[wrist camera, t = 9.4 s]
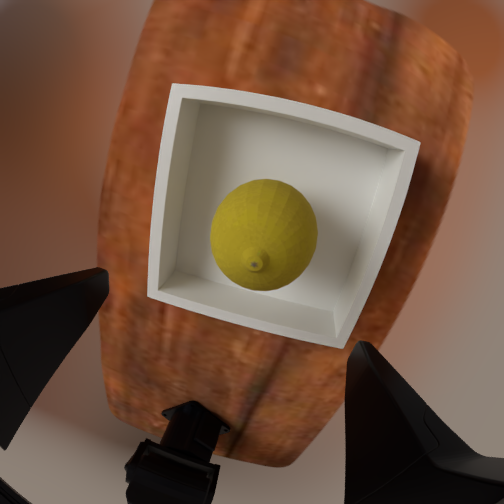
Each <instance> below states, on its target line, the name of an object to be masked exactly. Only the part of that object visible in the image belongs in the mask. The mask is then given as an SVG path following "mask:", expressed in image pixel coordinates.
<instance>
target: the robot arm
mask: <svg viewBox="0 0 504 504" xmlns="http://www.w3.org/2000/svg"><path fill="white" fill-rule="evenodd" d="M108 294H109V274H108V271H107V270H105V269H102V268H99V267H96V268H92V269H87V270H82V271H78V272H73V273H68V274H63V275H59V276H54V277H50V278H46V279H41V280H36V281H32V282H27V283H23V284H19V285H13V286H9V287H4V288H0V447H1V448H2V449H3V450H6V449H7V447H8V446H9V444H10V442H11V440H12V439H13V437H14V435H15V433H16V431H17V430H18V428H19V427H20V425H21V423H22V422H23V420H24V418H25V417H26V415H27V414H28V412H29V411H30V407H32V406H33V404H34V402H35V401H36V399H37V398H38V396H39V395H40V393H41V392H42V390H43V389H44V387H45V386H46V384H47V383H48V381H49V380H50V378H51V377H52V376H53V374H54V373H55V371H56V370H57V368H58V367H59V365H60V364H61V363H62V361H63V360H64V359H65V357H66V355H67V354H68V353H69V352H70V350H71V349H72V348H73V346H74V345H75V344H76V342H77V341H78V340H79V338H80V337H81V336H82V334H83V333H84V331H85V330H86V329H87V327H88V326H89V324H90V323H91V322H92V320H93V318H94V317H95V315H96V314H97V312H98V310H99V309H100V307H101V306H102V304H103V302H104V301H105V299H106V298H107V296H108ZM161 414H162V415H163V416H164V417H165V418H166V419H168V420H169V421H170V422H169V424H168V426H167V428H166V430H165V433H164V435H163V437H162V439H161V441H160V444H157V443H155V442H152V441H151V440H150V439H146V440H145V442H140V444H139V446H138V448H137V450H136V452H135V453H134V455H133V456H132V457H131V458H130V460H129V461H128V462H127V463H126V465H125V467H124V468H125V470H126V472H127V473H126V482H127V483H129V486H128V488H127V490H126V498H127V502H128V504H211V502H212V500H213V497H214V494H215V489H216V484H217V480H218V475H219V470H220V465H217V464H212V463H209V462H210V459H211V456H212V453H213V451H214V450H215V447H216V444H217V440H218V437H219V435H220V434H224V433H228V432H230V427H228V426H227V425H226V424H224V423H223V422H222V421H220V420H219V419H217V418H216V417H215V416H213V415H212V414H211V413H209V412H208V411H207V410H206V409H204V408H203V407H202V406H200V405H199V404H198V403H197V402H195V401H189V402H186V403H183V404H180V405H178V406H175V407H172V408H169V409H166V410H163V411H162V413H161ZM345 435H346V438H345V439H346V464H345V465H346V466H345V470H346V471H345V498H344V504H504V458H495V457H486V456H483V455H480V454H478V453H477V452H475V451H474V450H473V449H471V448H470V447H469V446H468V445H467V444H466V443H465V442H464V441H463V440H462V439H461V438H460V437H458V435H457V434H456V433H454V432H453V431H452V430H451V429H450V428H449V427H448V426H447V425H446V424H445V423H444V422H443V421H442V420H441V419H440V418H439V417H438V416H437V415H436V413H435V412H434V411H433V410H432V409H431V408H430V407H429V406H428V405H427V404H426V402H425V401H424V400H423V399H422V398H421V397H420V396H419V395H418V394H417V393H416V392H415V390H414V389H413V388H412V387H411V386H410V385H409V384H408V383H407V382H406V381H405V379H404V378H403V377H402V376H401V375H400V374H399V373H398V372H397V371H396V370H395V369H394V368H393V367H392V365H391V364H390V363H389V362H388V361H387V360H386V359H385V358H384V357H383V356H382V355H381V354H380V353H379V352H378V350H377V349H376V348H375V347H374V346H373V345H372V344H371V343H370V342H366V341H358V342H357V343H356V345H355V347H354V349H353V351H352V352H351V354H350V356H349V358H348V361H347V372H346V387H345ZM0 504H32V503H31V502H29V501H28V500H27V499H25V498H24V497H23V496H22V495H20V494H19V493H18V492H17V491H16V490H14V489H13V488H12V487H11V486H10V485H8V484H7V483H6V482H5V481H4V480H3V479H2V478H1V477H0Z"/></svg>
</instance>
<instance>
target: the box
mask: <svg viewBox="0 0 504 504" xmlns="http://www.w3.org/2000/svg"><path fill="white" fill-rule="evenodd" d="M419 147H420V142H418V141H416V140H414V139H411V138H409V137H407V136H404V135H402V134H399V133H396V132H394V131H391V130H389V129H386V128H383V127H380V126H378V125H375V124H372V123H369V122H366V121H363V120H360V119H357V118H354V117H351V116H348V115H344V114H341V113H338V112H334V111H331V110H327V109H323V108H320V107H316V106H312V105H308V104H304V103H300V102H296V101H291V100H287V99H282V98H278V97H273V96H267V95H262V94H257V93H251V92H245V91H238V90H232V89H224V88H217V87H208V86H198V85H187V84H173V83H172V87H171V91H170V96H169V101H168V106H167V111H166V117H165V122H164V128H163V133H162V139H161V146H160V152H159V159H158V166H157V174H156V182H155V190H154V199H153V209H152V220H151V232H150V246H149V264H148V293H147V297H150V298H153V299H156V300H159V301H162V302H165V303H168V304H171V305H174V306H178V307H181V308H184V309H187V310H190V311H194V312H197V313H200V314H204V315H207V316H210V317H214V318H217V319H221V320H224V321H228V322H232V323H235V324H239V325H243V326H246V327H250V328H254V329H258V330H262V331H266V332H269V333H274V334H278V335H282V336H286V337H290V338H294V339H299V340H303V341H308V342H312V343H317V344H321V345H326V346H331V347H336V348H341V349H343V348H344V346H345V344H346V342H347V340H348V338H349V336H350V334H351V332H352V330H353V328H354V326H355V324H356V322H357V320H358V318H359V315H360V313H361V311H362V309H363V307H364V305H365V302H366V300H367V298H368V296H369V293H370V291H371V289H372V287H373V284H374V282H375V279H376V277H377V275H378V272H379V270H380V267H381V265H382V262H383V260H384V257H385V255H386V252H387V249H388V247H389V244H390V241H391V239H392V236H393V233H394V230H395V227H396V225H397V222H398V219H399V216H400V213H401V210H402V207H403V204H404V200H405V197H406V194H407V191H408V187H409V184H410V180H411V177H412V173H413V170H414V166H415V162H416V158H417V155H418V151H419ZM259 179H272V180H279V181H282V182H284V183H286V184H289V185H291V186H293V187H294V188H295V189H297V190H298V191H299V192H300V193H302V194H303V196H304V197H305V198H306V200H307V201H308V202H309V203H310V205H311V207H312V209H313V212H314V214H315V216H316V221H317V229H318V237H317V244H316V249H315V252H314V254H313V257H312V259H311V261H310V263H309V265H308V266H307V268H306V269H305V270H304V271H303V273H302V274H301V275H300V276H299V277H298V278H297V279H295V280H294V281H293V282H291V283H290V284H288V285H286V286H284V287H282V288H279V289H277V290H270V291H254V290H250V289H247V288H243V287H241V286H239V285H237V284H236V283H234V282H232V281H231V280H230V279H229V278H228V277H226V276H225V275H224V274H223V272H222V271H221V270H220V268H219V267H218V266H217V264H216V261H215V259H214V256H213V254H212V250H211V242H210V233H211V225H212V220H213V218H214V215H215V213H216V211H217V208H218V206H219V205H220V204H221V202H222V201H223V200H224V199H225V197H226V196H227V195H228V194H229V193H230V192H232V191H233V190H234V189H236V188H237V187H238V186H240V185H242V184H244V183H247V182H250V181H252V180H259Z"/></svg>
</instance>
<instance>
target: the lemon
mask: <svg viewBox="0 0 504 504" xmlns="http://www.w3.org/2000/svg"><path fill="white" fill-rule="evenodd" d="M317 237H318V229H317V221H316V216H315V214H314V212H313V209H312V207H311V205H310V203H309V202H308V201H307V200H306V198H305V197H304V196H303V194H302V193H300V192H299V191H298V190H297V189H295V188H294V187H293V186H291V185H289V184H286V183H284V182H282V181H279V180H272V179H259V180H252V181H250V182H247V183H244V184H242V185H240V186H238V187H237V188H236V189H234V190H233V191H232V192H230V193H229V194H228V195H227V196H226V197H225V199H224V200H223V201H222V202H221V204H220V205H219V206H218V208H217V211H216V213H215V215H214V218H213V220H212V225H211V233H210V242H211V250H212V254H213V256H214V259H215V261H216V264H217V266H218V267H219V268H220V270H221V271H222V272H223V274H224V275H225V276H226V277H228V278H229V279H230V280H231V281H232V282H234V283H236V284H237V285H239V286H241V287H243V288H247V289H250V290H254V291H270V290H277V289H279V288H282V287H284V286H286V285H288V284H290V283H291V282H293V281H294V280H295V279H297V278H298V277H299V276H300V275H301V274H302V273H303V271H304V270H305V269H306V268H307V266H308V265H309V263H310V261H311V259H312V257H313V254H314V252H315V249H316V244H317Z"/></svg>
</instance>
